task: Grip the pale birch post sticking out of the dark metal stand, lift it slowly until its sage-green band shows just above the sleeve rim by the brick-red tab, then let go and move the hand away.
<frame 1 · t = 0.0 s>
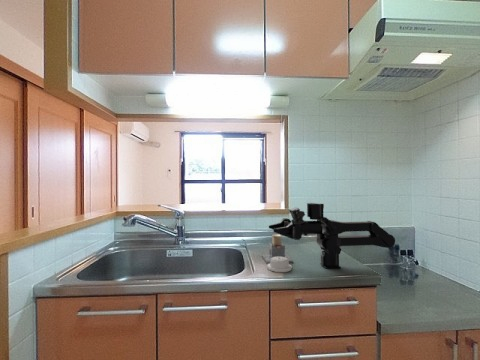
hand: (271, 228, 113), 17 cm above the counter, tool horizontal, fingers open, 9 cm apart
metal stand: (276, 259, 126), on the counter
birch post: (276, 246, 126), point 6 cm above the counter, slide at 0.0 cm
mechanical component: (279, 269, 113), on the counter
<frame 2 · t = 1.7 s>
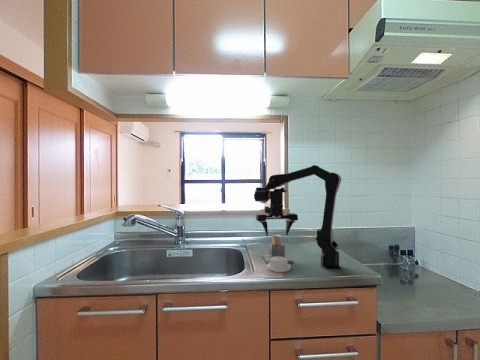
hand: (276, 235, 126), 11 cm above the counter, tool pointing down, fingers open, 9 cm apart
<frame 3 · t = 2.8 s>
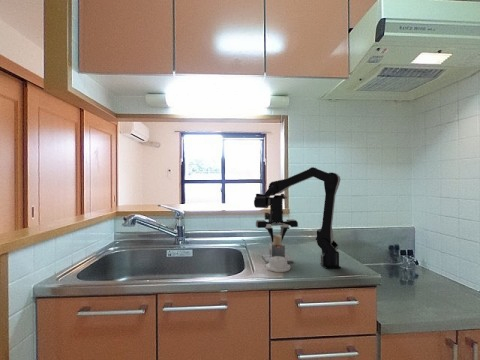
hand: (276, 242, 126), 8 cm above the counter, tool pointing down, fingers closed on birch post, 4 cm apart
birch post: (276, 246, 126), point 6 cm above the counter, slide at 0.0 cm, touching gripper
everything else where it was.
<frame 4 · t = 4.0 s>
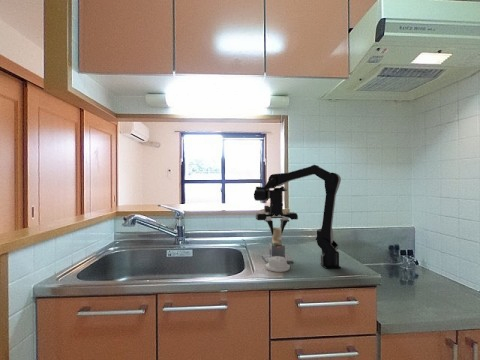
hand: (276, 234, 127), 11 cm above the counter, tool pointing down, fingers closed on birch post, 4 cm apart
birch post: (276, 238, 127), point 10 cm above the counter, slide at 3.4 cm, touching gripper
everything else where it was.
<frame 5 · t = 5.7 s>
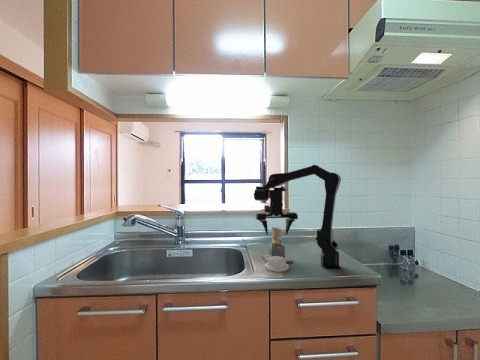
hand: (276, 234, 127), 11 cm above the counter, tool pointing down, fingers open, 9 cm apart
birch post: (276, 238, 127), point 10 cm above the counter, slide at 3.4 cm
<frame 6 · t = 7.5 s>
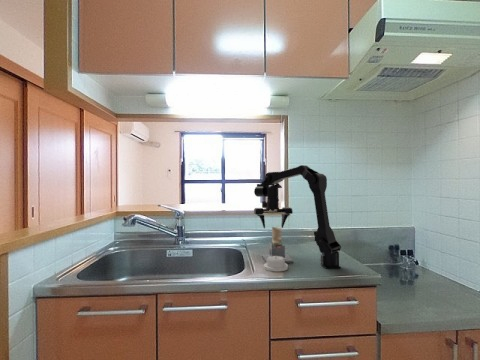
hand: (273, 228, 138), 13 cm above the counter, tool pointing down, fingers open, 9 cm apart
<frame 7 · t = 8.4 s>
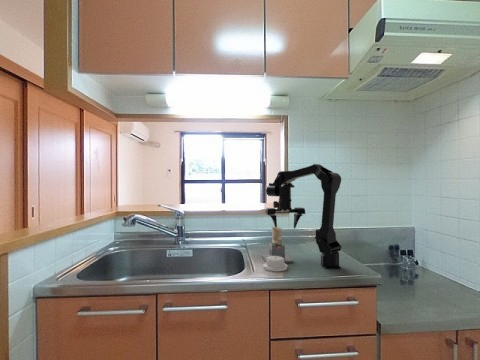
hand: (285, 228, 134), 13 cm above the counter, tool pointing down, fingers open, 9 cm apart
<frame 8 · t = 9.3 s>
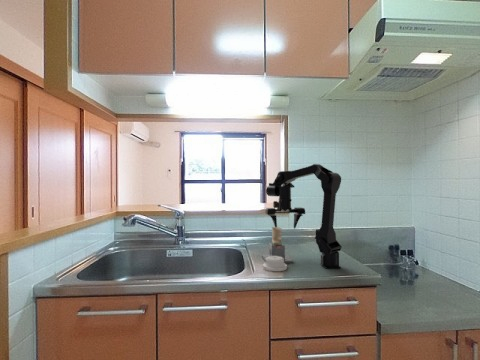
hand: (285, 228, 134), 13 cm above the counter, tool pointing down, fingers open, 9 cm apart
at the end: birch post slide at 3.4 cm; the gripper is holding nothing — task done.
